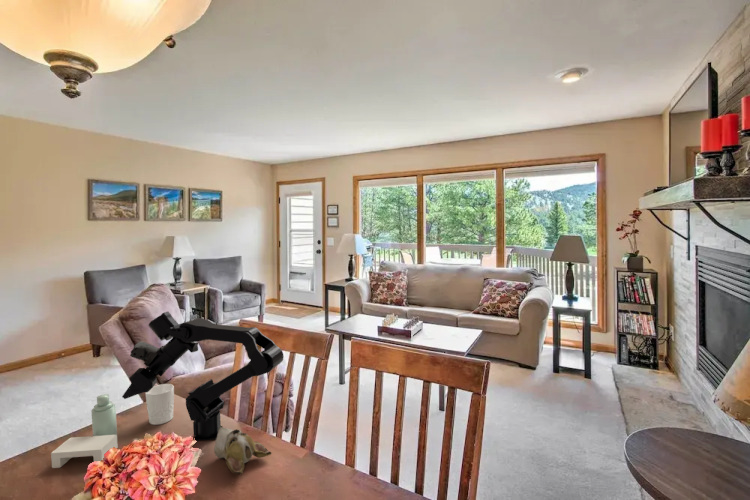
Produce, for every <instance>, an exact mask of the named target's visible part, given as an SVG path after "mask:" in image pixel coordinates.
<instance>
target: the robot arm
mask: <svg viewBox="0 0 750 500" xmlns="http://www.w3.org/2000/svg"><path fill="white" fill-rule="evenodd" d="M147 326H148V327H149V328H150V330H151V331H152V332H153V333H154V334H155V336H156V337H157V338H158V339H159V340H160V342H161V341H164V340H165V341H166V344H164V345H161V347H157V346H155V345H153V344H150V343H147V342H145V341H142V340H141V341H138V342H136V344H134V347H132V348H133V349H132V350H130V354H129V355H130V357H131V358H134V359H137V360H141V361H144V363H143V365H145V366H146V367H139V368H138V369H136V371H134V372H133V373H132V375H131V376H129V377H128V378H129V382H130V384H129V386H128V387H127V389H126V390H125V392H124V393H123V394H122V397H121V398H122V399H124V400H126V399H129V398H132V397H134V396H137V395H139V394H143V393H145V392H148V391H149V390H151V389H152V388H153V386H156V384H157V382H158V381H157V380H158V377H157V376H159V377H162V376H164V374H165V373H166V371H168V370H169V369H170V368H171V367H172V366H174V365H175V364H176V362H177V361H178V360H179V359H180V358H182V357H183V356H184V355H185V354H186V353H187V352H188V351H189V352H190V353H191V354H192V353H196V352H198V351H199V342H201V341H209V340H210V341H217V342H227V343H235V344H236V343H237V344H242V345H243V346H244V348H245V352H246V354H247V357H248V359H249V362H248V363H247V364H246V365H244V366H243V367H240V368H239V369H237V370H236V371H234V372H232V373H230V374H229V375H227V376H225V377H224V378H222V379H221V380H219V381H217V382H214V381H213V379H209V380H208V381H206V382H205V383H202V384H201V385H198V387H195V388H194V389H193V390H192V389H191V391H190V392H188V393H187V394H188V395H187V397H185V407H186V411H187V413H188V416H189V418H190V421H192V428H193V436H194V437H193V439H194V438H195V440H197V441H211V440H212V441H213V440H216V439H217V435H218V432H219V428H220V427H223V425H221V410H222V409H224V408H225V407H224V406H225V401H224V400H223V398H222V397H221V396H222V395H224V394H225V393H227V392H229V391H230V390H232V389H233V388H236V387H237V386H239V385H240V384H243V383H244V382H245V381H247V380H249V379H251V378H253V377H259V376H262V375H265V374H268V373H270V372H271V371H273V370H274V369H275V368H276V367H277V366H279V365H280V364H281V363H283V360H284V353H283V352H284V351H283V350H282V349H281V347H279V346H277V344H276V343H275V342H274V340H272V339H271V338H269V337H267V336H266V335H265V334H263V333H262V332H261V331H260V329H259V328H257V327H255V326H251V327H248V326H247V327H246V326H237V325H235V326H234V325H227V324H226V325H225V324H216V323H213V322H211V321H210V320H208V319H205V318H201V317H196V318H194V319H192V320H191V319H190V320H188V321H185V322H182V323H178V322H177V320H176V319H175V318H174V317H173V315H172V314H171V312H169V311H165V312H162V313H161V314H159V315H158V316H157V317H156V318H154V319H153V320H151V321H150V322H149V323H148V325H147ZM167 341H168V342H167ZM258 346H259V347H260V348H261V349H263V350H262V351H261V350H259V348H258ZM223 428H224V427H223ZM197 441H196V442H197Z"/></svg>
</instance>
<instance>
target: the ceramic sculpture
mask: <svg viewBox="0 0 750 500" xmlns="http://www.w3.org/2000/svg"><path fill="white" fill-rule="evenodd" d="M214 444H215V445H214V448H213V450H214V454H215V456H216V457H217V458H219V459H225V464H226V466H227V468H228V469H229V470H230V472H231V473H233V474H236V475H243V474H244V469H245V464H247V463H248V462H249V461H250V460H251V459H252V457H253V456H254V457H256V458H258V459H259V458H260V459H261V458H265V457H268V456H271V455H272V454H273V452H271V451H269V450H268V449H267V448H266V447H265V445H264V444H262V443H260V442H259V441H254V440H253V437H252V436H251V435H248V433H244V432H242V431H241V429H238V428H237V429H234V430H233V429H231V428H226V427H220V428H219V432H218V435H217V439H215V443H214Z"/></svg>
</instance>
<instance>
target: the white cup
mask: <svg viewBox="0 0 750 500" xmlns="http://www.w3.org/2000/svg"><path fill="white" fill-rule="evenodd" d="M144 394H145V402H146V409H147V415H148V422H149V424H150V425H155V426H156V425H163V424H165V423H168V422H169V421H171V420H172V419H173V418H174V408H175V386H174V385H173V384H172V383H162V384H158V385H156V384H155V385H154V386H153V388H152V389H151V390H149V391H148V392H144Z"/></svg>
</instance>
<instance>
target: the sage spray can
mask: <svg viewBox="0 0 750 500" xmlns="http://www.w3.org/2000/svg"><path fill="white" fill-rule="evenodd" d="M116 408H117V407H116V403H113V400H112V401H110V394H109V393H103V394H99V395H98V396H96V404H95V405H94V406H93V408H92V409H91V424H92V426H91V427H92V436H102V435H117V436H118V427H117V409H116Z"/></svg>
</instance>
